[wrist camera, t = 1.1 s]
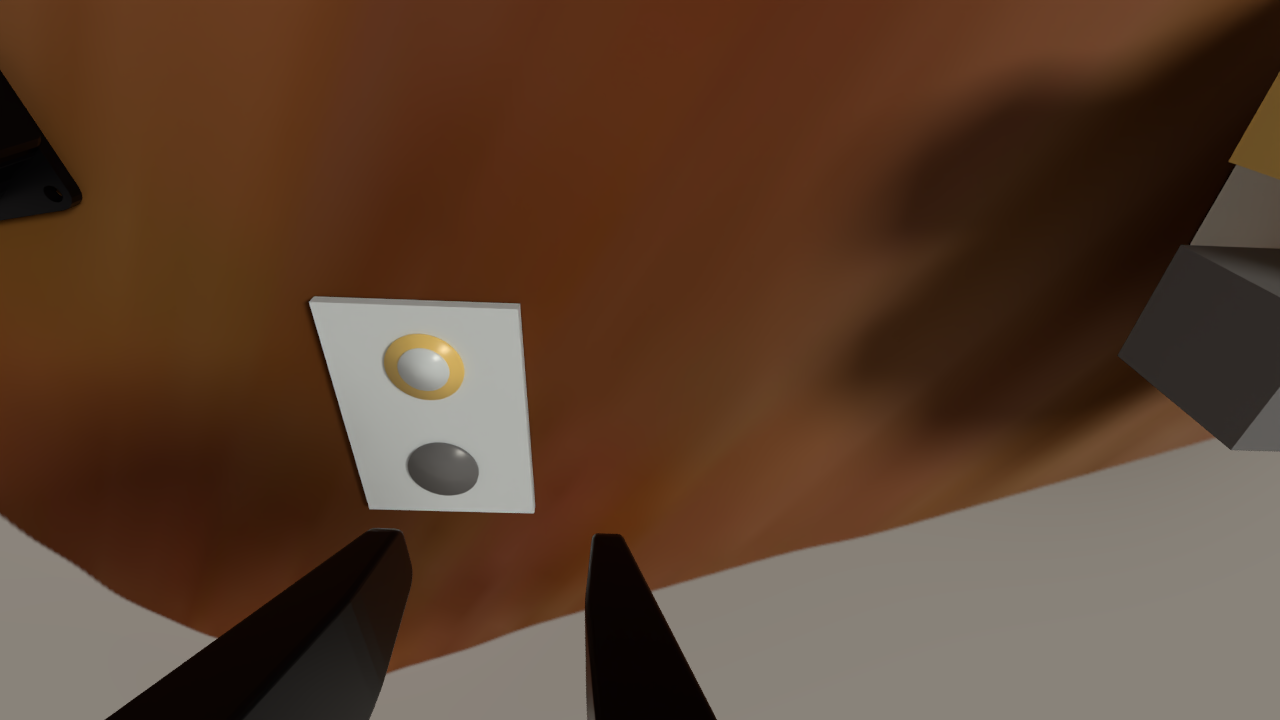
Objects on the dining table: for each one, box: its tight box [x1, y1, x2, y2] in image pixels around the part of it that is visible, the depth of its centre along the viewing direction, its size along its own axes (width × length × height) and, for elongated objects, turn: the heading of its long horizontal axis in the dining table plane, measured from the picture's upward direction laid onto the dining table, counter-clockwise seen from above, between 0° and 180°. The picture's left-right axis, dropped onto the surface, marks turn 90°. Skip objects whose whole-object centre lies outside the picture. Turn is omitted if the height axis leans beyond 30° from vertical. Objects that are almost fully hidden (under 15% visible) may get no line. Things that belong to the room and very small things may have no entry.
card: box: [309, 296, 535, 513], centre depth 23 cm, size 7×10×1 cm
